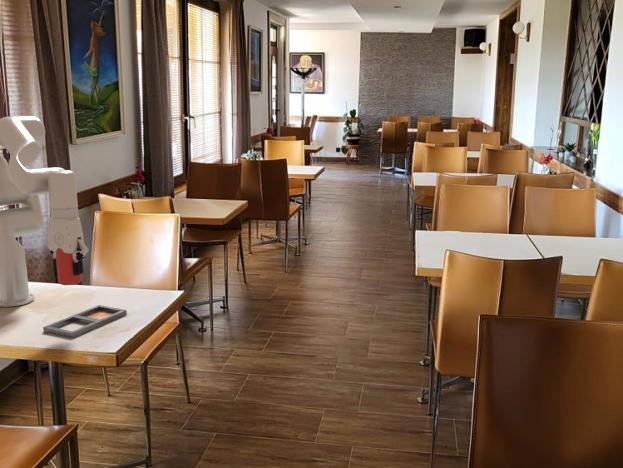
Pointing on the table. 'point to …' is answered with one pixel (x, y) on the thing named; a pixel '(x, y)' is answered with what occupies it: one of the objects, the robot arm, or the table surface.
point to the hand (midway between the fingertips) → (69, 272)
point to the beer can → (66, 268)
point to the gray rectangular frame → (86, 321)
